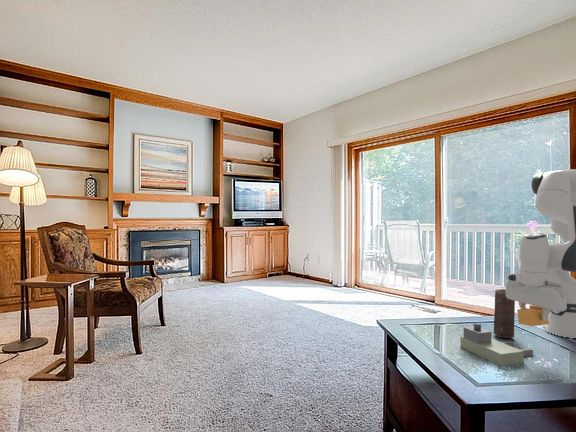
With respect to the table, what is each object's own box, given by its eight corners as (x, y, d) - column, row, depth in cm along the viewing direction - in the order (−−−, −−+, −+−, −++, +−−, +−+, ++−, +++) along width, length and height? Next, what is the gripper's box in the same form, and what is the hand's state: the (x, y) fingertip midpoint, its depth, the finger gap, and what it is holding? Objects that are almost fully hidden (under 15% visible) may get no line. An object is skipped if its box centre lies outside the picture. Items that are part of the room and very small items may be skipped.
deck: (500, 342, 140) (501, 317, 140) (545, 359, 123) (545, 331, 123) (460, 346, 134) (460, 320, 134) (500, 366, 117) (501, 336, 117)
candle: (517, 341, 141) (518, 292, 141) (497, 339, 143) (498, 291, 143) (509, 335, 149) (510, 288, 149) (490, 333, 150) (491, 287, 150)
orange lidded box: (535, 321, 127) (533, 305, 128) (549, 324, 122) (546, 306, 123) (518, 323, 125) (516, 306, 125) (532, 326, 120) (530, 308, 121)
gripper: (571, 284, 115) (571, 325, 115) (515, 274, 135) (515, 309, 135) (557, 285, 113) (557, 327, 113) (502, 274, 133) (502, 310, 133)
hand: (534, 317), depth 124 cm, fingers closed on orange lidded box, 5 cm apart
